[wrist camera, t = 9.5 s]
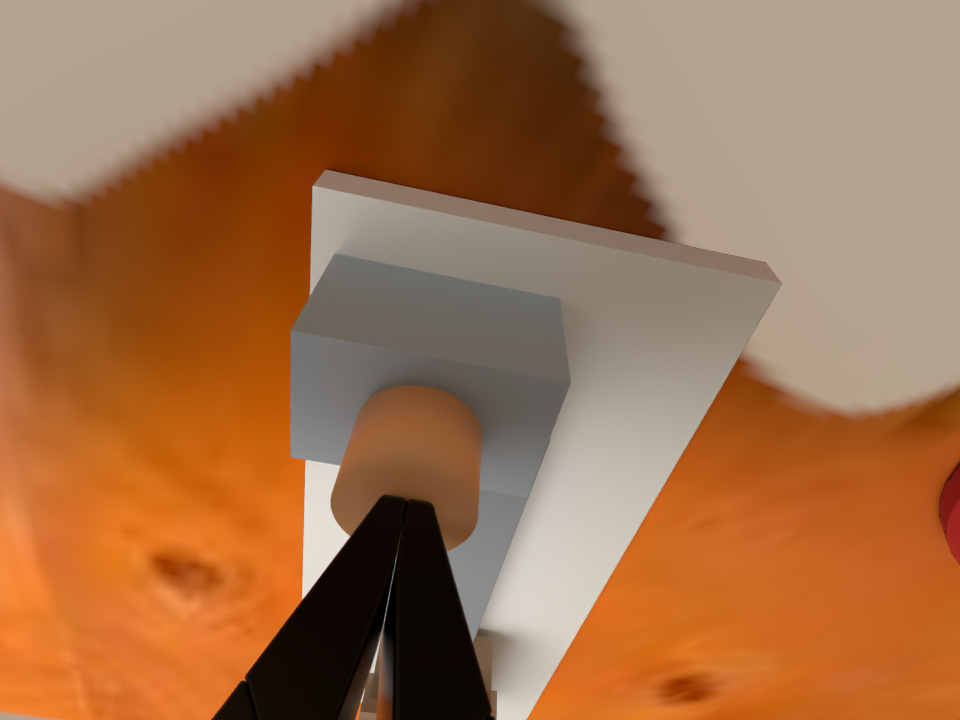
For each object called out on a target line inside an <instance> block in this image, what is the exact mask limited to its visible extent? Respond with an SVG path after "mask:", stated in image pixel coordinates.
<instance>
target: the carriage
mask: <svg viewBox="0 0 960 720" xmlns="http://www.w3.org/2000/svg"><path fill="white" fill-rule="evenodd" d="M383 628H384V624H383ZM383 628H382V634H381V639H380V644H379V649H378V655H377V660H376V665H375V671H374V673H369V676H368V679H367V683H366V686H365V690H364V695H363V700H362V705H361V711H360V716H359V720H376V714H377V700H378V686H379V671H380V657H381V645H382V635H383ZM473 644H474V648H475V651H476V655H477V658H478V662H479V665H480V669H481V672H482V676H483V679H484V683H485V686H486V690H487V693H488V697H489V700H490V704H491V707H492V713H491V715H493V716H494V717H495V720H497V691H495V690H491V686H492V651H493V638H491V637H484V636H478V635H476V636H475V639H474V641H473Z"/></svg>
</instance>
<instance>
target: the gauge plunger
mask: <svg viewBox="0 0 960 720" xmlns="http://www.w3.org/2000/svg"><path fill="white" fill-rule="evenodd" d="M482 442H483V433H482V428H481V425H480V422H479V420H478V418H477V417H476V415H475V414H474V412H473V411H472V410H471V409H470V408H469V407H468V406H467V405H466V404H465V403H464V402H462V401H461V400H460V399H458V398H457V397H455V396H453V395H451V394H449V393H447V392H445V391H442V390H439V389H436V388H431V387H427V386H419V385H407V386H398V387H393V388H390V389H386V390H384V391H381V392H379V393H377V394H376V395H374V396H372V397H371V398H370V399H369V400H367V401H366V402H365V404H364V405H363V406H362V407H361V409H360V410H359V412H358V415H357V417H356V420H355V423H354V426H353V429H352V432H351V436H350V439H349V442H348V445H347V448H346V451H345V454H344V457H343V460H342V463H341V466H340V469H339V472H338V475H337V478H336V481H335V485H334V488H333V491H332V494H331V499H330V504H331V510H332V514H333V516H334V518H335V520H336V522H337V523H338V525H339V526H340V527H341V528H342V529H343V531H345V532H346V533H347V534H348V535H349V536H351V535H352V533H353V532H354V531H355V529H356V528H357V527H358V525H359V524H360V523H361V521H362V520H363V519H364V517H365V516H366V515H367V514H368V512H369V511H370V510H371V508H372V507H373V506H374V504H375V503H376V502H377V500H378V499H379V498H380V497H381V496H382V495H392V496H398V497H403V498H405V499H406V501H408V500H410V499H416V500H422V501H428V502H431V503H432V504H433V506H434V508H435V512H436V515H437V519H438V522H439V526H440V529H441V533H442V536H443V540H444V543H445V547H446V550H447V551H449V550H451V549H454V548H456V547H457V546H459V545H461V544H462V543H463V542H464V541H466V540H467V539H468V538H469V537H470V536H471V534H472V533H473V531H474V529H475V527H476V525H477V520H478V508H479V492H480V475H481V459H482ZM406 505H407V503H406ZM405 510H406V509H405ZM404 515H405V514H404ZM403 521H404V519H403ZM402 526H403V525H402ZM401 531H402V530H401ZM400 536H401V535H400ZM399 542H400V540H399ZM398 547H399V546H398ZM397 552H398V551H397Z"/></svg>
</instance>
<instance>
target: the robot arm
mask: <svg viewBox="0 0 960 720" xmlns="http://www.w3.org/2000/svg"><path fill="white" fill-rule="evenodd" d="M406 503H407V505H406ZM405 509H406V510H405ZM404 514H405V515H404ZM403 519H404V521H403ZM402 525H403V526H402ZM401 530H402V531H401ZM400 535H401V536H400ZM399 540H400V542H399ZM398 546H399V547H398ZM397 551H398V552H397ZM396 556H397V557H396ZM395 562H396V563H395ZM394 567H395V568H394ZM393 572H394V573H393ZM392 577H393V579H392ZM391 583H392V584H391ZM390 588H391V589H390ZM389 593H390V595H389ZM388 598H389V600H388ZM387 604H388V605H387ZM386 609H387V610H386ZM385 614H386V616H385ZM384 619H385V622H384ZM383 624H384V628H383ZM382 628H383V635H382V645H381V657H380V671H379V686H378V700H377V714H376V720H495V717H494V716H493V715H491V713H492V707H491V704H490V700H489V697H488V693H487V690H486V686H485V683H484V679H483V676H482V672H481V669H480V665H479V662H478V658H477V655H476V651H475V648H474V644H473V641H472V637H471V634H470V630H469V627H468V623H467V620H466V617H465V613H464V610H463V606H462V603H461V599H460V596H459V592H458V589H457V585H456V582H455V578H454V575H453V571H452V568H451V564H450V561H449V557H448V554H447V550H446V547H445V543H444V540H443V536H442V533H441V529H440V526H439V522H438V519H437V515H436V512H435V508H434V506H433V504H432V503H431V502H428V501H422V500H416V499H410V500H408V501H406V499H405V498H403V497H398V496H392V495H382V496H381V497H380V498H379V499H378V500H377V502H376V503H375V504H374V506H373V507H372V508H371V510H370V511H369V512H368V514H367V515H366V516H365V517H364V519H363V520H362V521H361V523H360V524H359V525H358V527H357V528H356V529H355V531H354V532H353V533H352V535H351V536H350V537H349V539H348V540H347V541H346V543H345V544H344V545H343V547H342V548H341V549H340V551H339V552H338V553H337V555H336V556H335V557H334V559H333V560H332V561H331V563H330V564H329V565H328V567H327V568H326V569H325V571H324V572H323V573H322V575H321V576H320V577H319V579H318V580H317V581H316V582H315V584H314V585H313V586H312V588H311V589H310V590H309V592H308V593H307V594H306V596H305V597H304V598H303V600H302V601H301V602H300V604H299V605H298V606H297V608H296V609H295V610H294V612H293V613H292V614H291V616H290V617H289V618H288V620H287V621H286V622H285V624H284V625H283V626H282V628H281V629H280V630H279V632H278V633H277V634H276V636H275V637H274V638H273V640H272V641H271V642H270V643H269V645H268V646H267V647H266V649H265V650H264V651H263V653H262V654H261V655H260V657H259V658H258V659H257V661H256V662H255V663H254V665H253V666H252V667H251V669H250V670H249V671H248V673H247V674H246V675H245V681H241V682H240V683H239V684H238V685H237V687H236V688H235V689H234V691H233V692H232V693H231V695H230V696H229V697H228V699H227V700H226V701H225V703H224V704H223V705H222V707H221V708H220V709H219V710H218V712H217V713H216V714H215V715H214V717H213V718H212V719H211V720H355V718H356V715H357V711H358V708H359V705H360V702H361V699H362V695H363V692H364V689H365V686H366V683H367V679H368V676H369V673H370V670H371V667H372V663H373V660H374V657H375V654H376V650H377V647H378V644H379V640H380V636H381V633H382Z"/></svg>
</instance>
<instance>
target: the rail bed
mask: <svg viewBox="0 0 960 720" xmlns="http://www.w3.org/2000/svg"><path fill="white" fill-rule="evenodd" d="M781 284H782V283H781V282H780V281H779V279H778V278H777V277H776V275H775V274H774V273H773V272H772V270H771V269H770V268H769V267H768V265H767V264H766V263H765V262H761V261H756V260H751V259H747V258H742V257H738V256H733V255H728V254H723V253H718V252H714V251H709V250H704V249H700V248H695V247H690V246H686V245H681V244H676V243H671V242H667V241H662V240H657V239H652V238H648V237H643V236H638V235H633V234H629V233H624V232H619V231H615V230H610V229H605V228H600V227H596V226H591V225H586V224H581V223H577V222H572V221H567V220H562V219H558V218H553V217H548V216H544V215H539V214H534V213H529V212H525V211H520V210H515V209H510V208H506V207H501V206H496V205H491V204H487V203H482V202H477V201H473V200H468V199H463V198H458V197H454V196H449V195H444V194H439V193H435V192H430V191H425V190H420V189H416V188H411V187H406V186H402V185H397V184H392V183H387V182H383V181H378V180H373V179H368V178H364V177H359V176H354V175H349V174H345V173H340V172H335V171H331V170H325V171H324V172H323V173H322V175H321V176H320V177H319V178H318V180H317V181H316V182H315V183H314V185H313V189H312V229H311V269H310V297H309V299H308V301H307V303H306V304H305V306H304V308H303V310H302V311H301V313H300V315H299V317H298V318H297V320H296V322H295V324H294V326H293V327H292V329H291V457H292V458H298V459H304V460H306V469H305V508H304V548H303V588H302V600H303V598H304V597H305V596H306V594H307V593H308V592H309V590H310V589H311V588H312V586H313V585H314V584H315V582H316V581H317V580H318V579H319V577H320V576H321V575H322V573H323V572H324V571H325V569H326V568H327V567H328V565H329V564H330V563H331V561H332V560H333V559H334V557H335V556H336V555H337V553H338V552H339V551H340V549H341V548H342V547H343V545H344V544H345V543H346V541H347V540H348V539H349V537H350V536H349V535H348V534H347V533H346V532H345V531H343V529H342V528H341V527H340V526H339V525H338V523H337V522H336V520H335V518H334V516H333V514H332V510H331V504H330V499H331V494H332V491H333V488H334V485H335V481H336V478H337V475H338V472H339V469H340V466H341V463H342V460H343V457H344V454H345V451H346V448H347V445H348V442H349V439H350V436H351V432H352V429H353V426H354V423H355V420H356V417H357V415H358V412H359V410H360V409H361V407H362V406H363V405H364V404H365V402H366V401H367V400H369V399H370V398H371V397H372V396H374V395H376V394H377V393H379V392H381V391H384V390H386V389H390V388H393V387H398V386H407V385H419V386H427V387H431V388H436V389H439V390H442V391H445V392H447V393H449V394H451V395H453V396H455V397H457V398H458V399H460V400H461V401H462V402H464V403H465V404H466V405H467V406H468V407H469V408H470V409H471V410H472V411H473V412H474V414H475V415H476V417H477V418H478V420H479V422H480V425H481V428H482V433H483V442H482V459H481V475H480V492H479V508H478V520H477V525H476V527H475V529H474V531H473V533H472V534H471V536H470V537H469V538H468V539H467V540H466V541H464V542H463V543H462V544H461V545H459V546H457V547H456V548H454V549H451V550H449V551H447V554H448V557H449V561H450V564H451V568H452V571H453V575H454V578H455V582H456V585H457V589H458V592H459V596H460V599H461V603H462V606H463V610H464V613H465V617H466V620H467V623H468V627H469V630H470V634H471V637H472V641H474V639H475V636H476V635H478V636H484V637H491V638H493V651H492V686H491V690H495V691H497V720H526V719H527V717H528V716H529V714H530V712H531V710H532V709H533V707H534V705H535V704H536V702H537V700H538V699H539V697H540V695H541V693H542V692H543V690H544V688H545V687H546V685H547V683H548V681H549V680H550V678H551V676H552V675H553V673H554V671H555V670H556V668H557V666H558V664H559V663H560V661H561V659H562V658H563V656H564V654H565V653H566V651H567V649H568V647H569V646H570V644H571V642H572V641H573V639H574V637H575V635H576V634H577V632H578V630H579V629H580V627H581V625H582V624H583V622H584V620H585V618H586V617H587V615H588V613H589V612H590V610H591V608H592V607H593V605H594V603H595V601H596V600H597V598H598V596H599V595H600V593H601V591H602V589H603V588H604V586H605V584H606V583H607V581H608V579H609V578H610V576H611V574H612V572H613V571H614V569H615V567H616V566H617V564H618V562H619V561H620V559H621V557H622V555H623V554H624V552H625V550H626V549H627V547H628V545H629V543H630V542H631V540H632V538H633V537H634V535H635V533H636V532H637V530H638V528H639V526H640V525H641V523H642V521H643V520H644V518H645V516H646V515H647V513H648V511H649V509H650V508H651V506H652V504H653V503H654V501H655V499H656V497H657V496H658V494H659V492H660V491H661V489H662V487H663V486H664V484H665V482H666V480H667V479H668V477H669V475H670V474H671V472H672V470H673V469H674V467H675V465H676V463H677V462H678V460H679V458H680V457H681V455H682V453H683V451H684V450H685V448H686V446H687V445H688V443H689V441H690V440H691V438H692V436H693V434H694V433H695V431H696V429H697V428H698V426H699V424H700V423H701V421H702V419H703V417H704V416H705V414H706V412H707V411H708V409H709V407H710V405H711V404H712V402H713V400H714V399H715V397H716V395H717V394H718V392H719V390H720V388H721V387H722V385H723V383H724V382H725V380H726V378H727V376H728V375H729V373H730V371H731V370H732V368H733V366H734V365H735V363H736V361H737V359H738V358H739V356H740V354H741V353H742V351H743V349H744V348H745V346H746V344H747V342H748V341H749V339H750V337H751V336H752V334H753V332H754V330H755V329H756V327H757V325H758V323H759V322H760V320H761V319H762V317H763V315H764V313H765V312H766V310H767V308H768V307H769V305H770V303H771V302H772V300H773V298H774V296H775V295H776V293H777V291H778V290H779V288H780V286H781ZM396 557H397V556H396ZM395 563H396V562H395ZM394 568H395V567H394ZM393 573H394V572H393ZM392 579H393V577H392ZM391 584H392V583H391ZM390 589H391V588H390ZM389 595H390V593H389ZM388 600H389V598H388ZM387 605H388V604H387ZM386 610H387V609H386ZM385 616H386V614H385ZM384 622H385V619H384ZM381 634H382V633H381ZM380 639H381V636H380ZM379 644H380V640H379ZM379 644H378V647H377V650H376V654H375V657H374V660H373V663H372V667H371V670H370V673H374V671H375V665H376V660H377V655H378V649H379ZM364 690H365V689H364ZM363 695H364V692H363ZM363 695H362V699H361V702H362V700H363Z"/></svg>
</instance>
